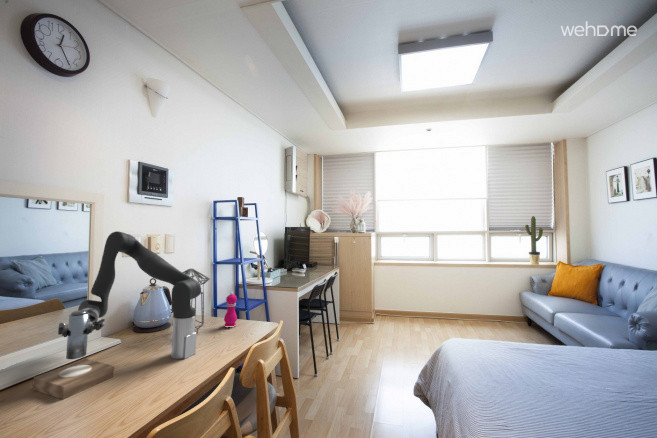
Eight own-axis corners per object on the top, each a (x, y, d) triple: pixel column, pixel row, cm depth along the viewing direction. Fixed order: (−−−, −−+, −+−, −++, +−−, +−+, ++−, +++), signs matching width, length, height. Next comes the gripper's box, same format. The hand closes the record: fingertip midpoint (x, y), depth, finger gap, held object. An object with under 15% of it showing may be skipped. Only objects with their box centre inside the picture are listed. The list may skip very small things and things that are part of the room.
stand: (113, 376, 110) (113, 365, 110) (63, 399, 95) (64, 386, 95) (84, 368, 115) (85, 357, 115) (32, 389, 100) (33, 376, 100)
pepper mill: (224, 329, 166) (226, 293, 166) (222, 325, 172) (224, 291, 173) (237, 327, 169) (239, 292, 170) (235, 323, 175) (237, 290, 176)
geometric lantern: (193, 326, 168) (196, 266, 169) (208, 333, 158) (212, 268, 160) (165, 334, 155) (169, 268, 156) (180, 341, 146) (184, 271, 147)
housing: (90, 352, 108) (93, 310, 109) (77, 359, 103) (80, 314, 103) (75, 352, 108) (78, 309, 109) (61, 359, 103) (64, 313, 103)
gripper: (63, 311, 114) (50, 325, 100) (108, 308, 122) (102, 319, 107) (61, 331, 114) (48, 347, 100) (107, 326, 122) (101, 340, 107)
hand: (76, 333), depth 104 cm, fingers closed on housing, 5 cm apart
